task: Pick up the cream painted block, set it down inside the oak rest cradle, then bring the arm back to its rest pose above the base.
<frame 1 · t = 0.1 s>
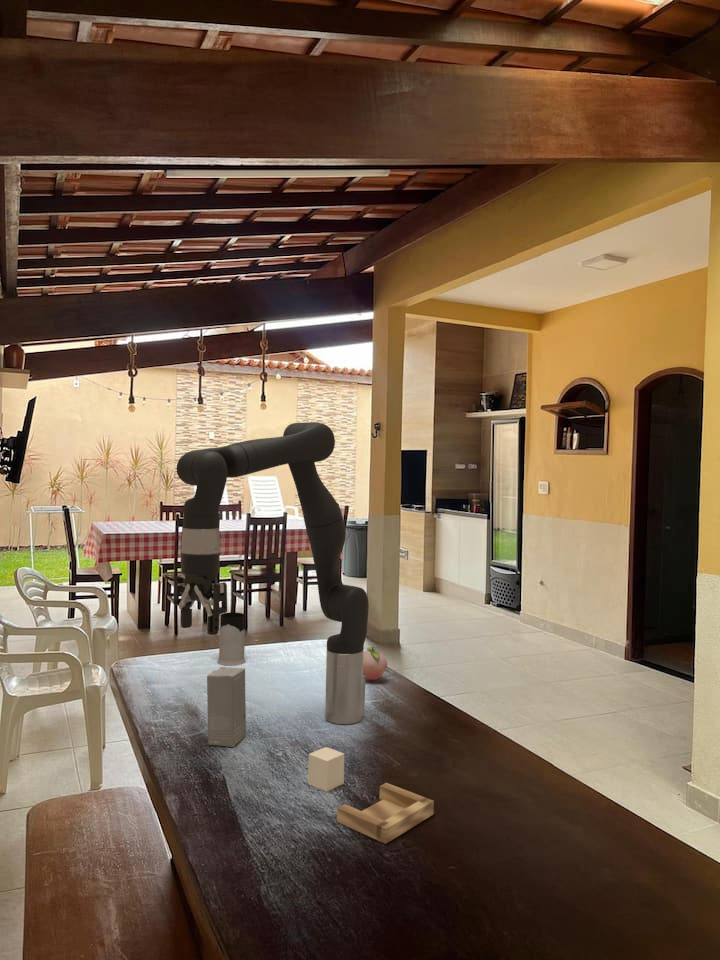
hand: (199, 630, 146), 29 cm above the table, fingers open, 8 cm apart
rest cradle: (388, 819, 130), on the table
decorative fruit: (371, 681, 213), on the table
block: (325, 783, 144), on the table
glass holder: (234, 660, 233), on the table
skincare box: (226, 740, 165), on the table
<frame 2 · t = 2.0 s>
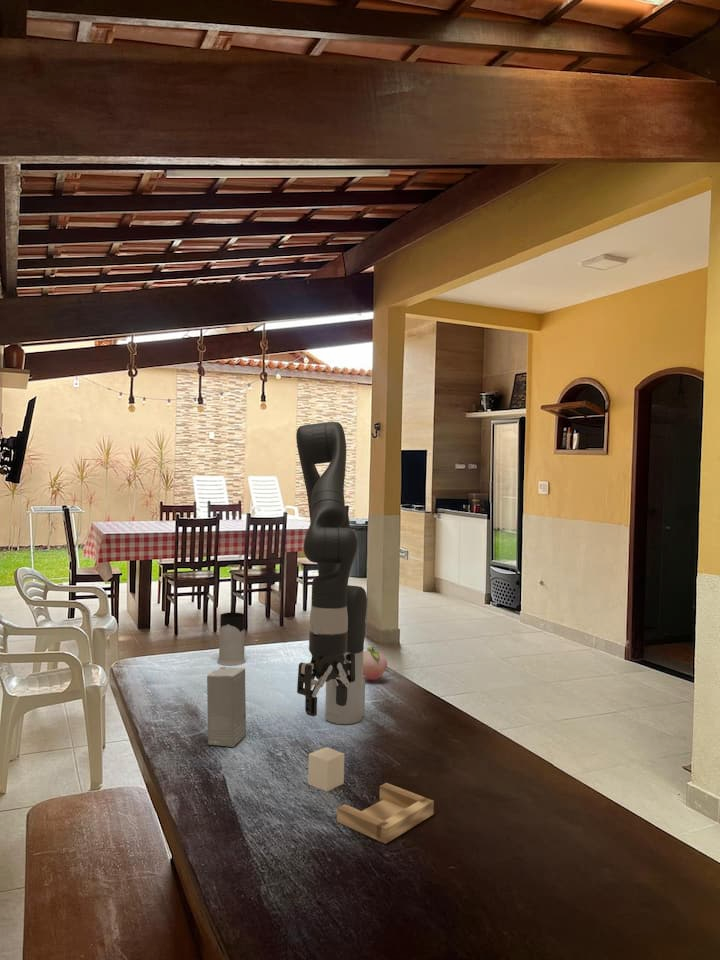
hand: (326, 710, 144), 15 cm above the table, fingers open, 8 cm apart
nothing on the table moved.
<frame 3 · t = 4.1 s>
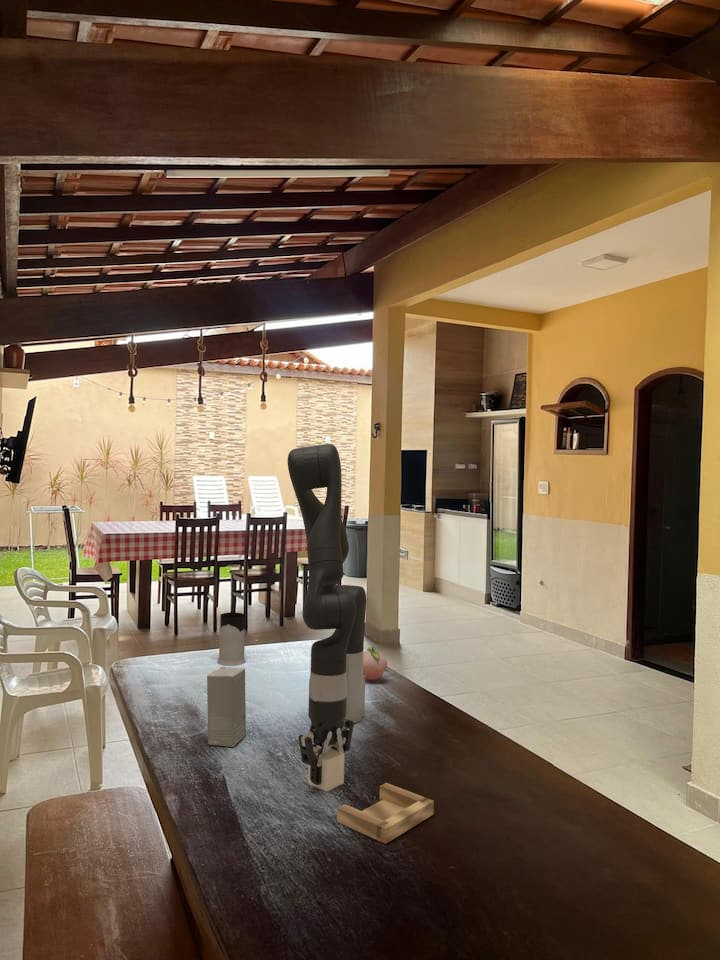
hand: (325, 778, 144), 1 cm above the table, fingers closed on block, 5 cm apart
block: (325, 783, 144), on the table, touching gripper
everything else where it was.
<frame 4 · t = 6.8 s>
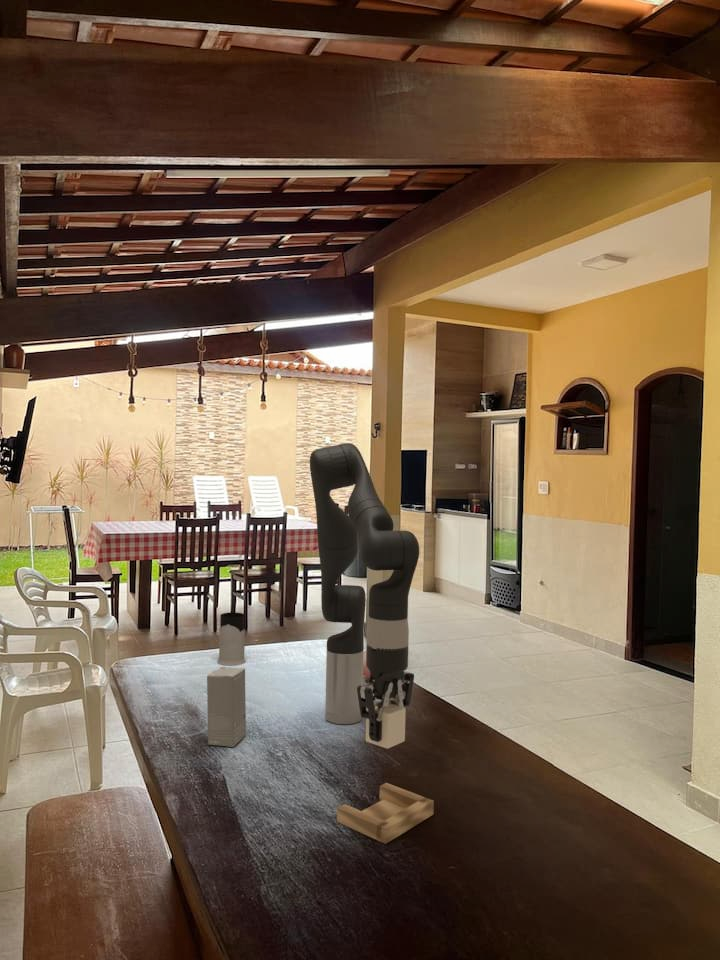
hand: (385, 735, 130), 15 cm above the table, fingers closed on block, 5 cm apart
block: (385, 741, 130), point 14 cm above the table, touching gripper
everything else where it was.
when the fingers open (2 cm above the table, at t = 9.8 s): block drops 1 cm, resting on rest cradle.
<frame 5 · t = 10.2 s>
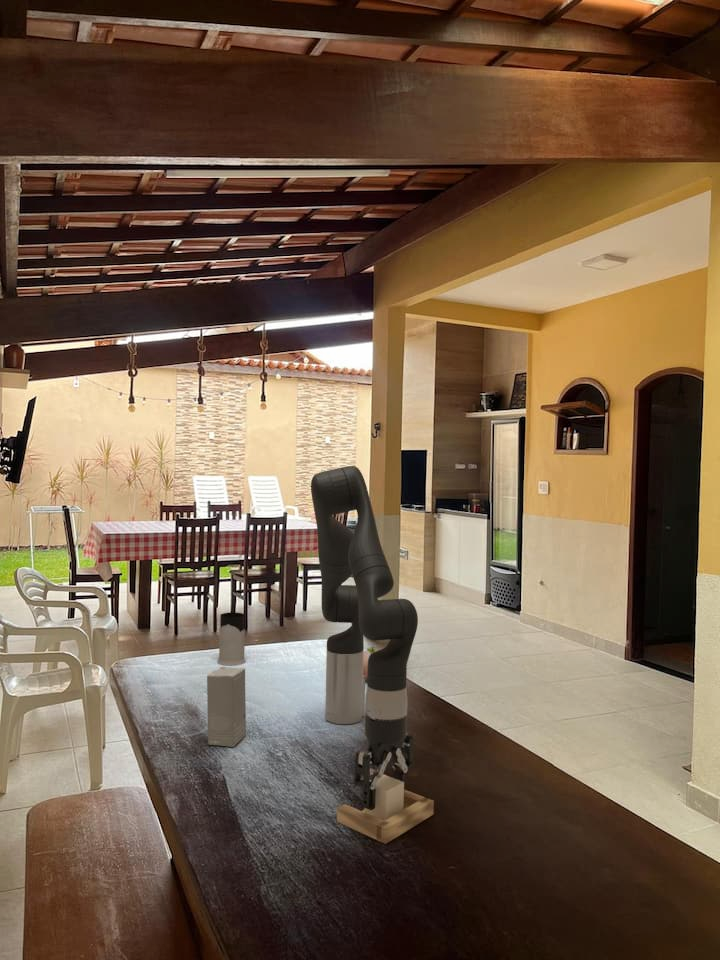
hand: (384, 800, 131), 3 cm above the table, fingers open, 8 cm apart
block: (383, 815, 131), resting on rest cradle
everything else where it was.
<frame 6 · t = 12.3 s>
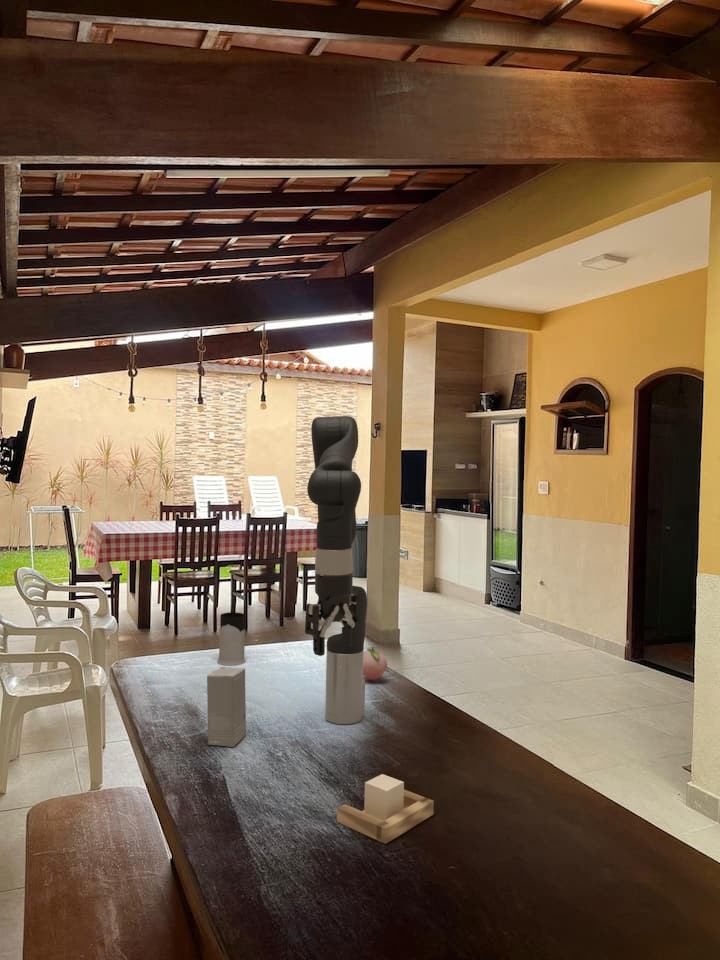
hand: (333, 650, 146), 26 cm above the table, fingers open, 8 cm apart
nothing on the table moved.
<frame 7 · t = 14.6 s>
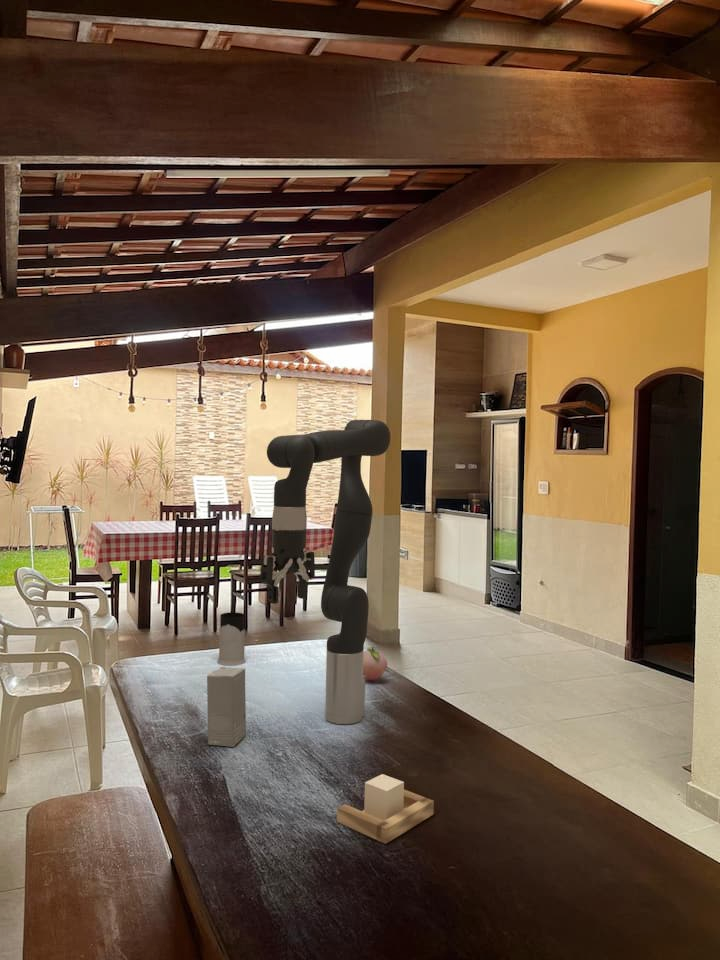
hand: (287, 600, 159), 33 cm above the table, fingers open, 8 cm apart
nothing on the table moved.
at the end: block inside the target area (0.3 cm from its centre), resting on rest cradle; the gripper is holding nothing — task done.
